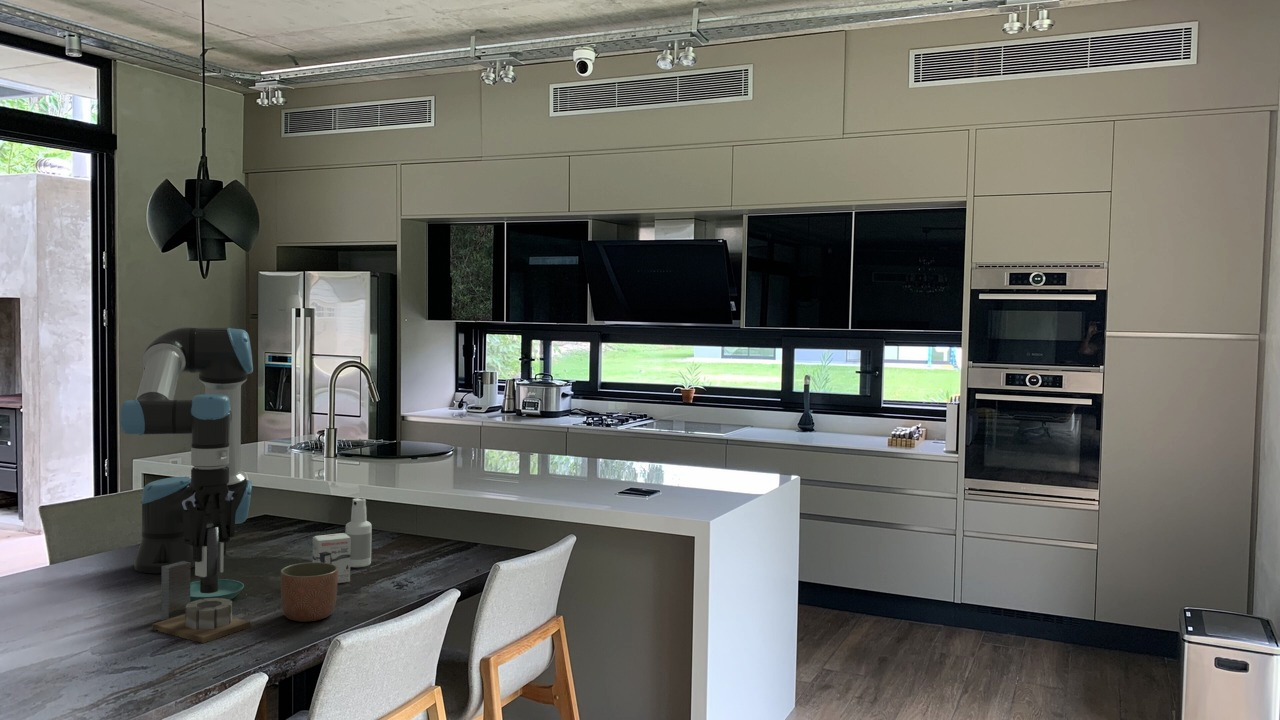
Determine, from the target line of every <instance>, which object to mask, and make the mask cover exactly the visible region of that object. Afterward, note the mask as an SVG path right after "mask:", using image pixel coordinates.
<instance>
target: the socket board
mask: <svg viewBox="0 0 1280 720" xmlns="http://www.w3.org/2000/svg"><path fill="white" fill-rule="evenodd" d="M151 626H152V627H151V629H152V631H156V630H158V631H157V632H160V633H163V632H164V634H167V633H169V634H168V635H171V634H172V635H171V636H174V635H175V636H176V637H178V636H179V637H178V638H181V639H182V638H183V639H186V640H189V639H191V640H190V641H194V642H197V641H198V642H197V643H201V642H202V644H205V642H206V643H208V642H210V641H214V640H217V639H221V638H222V636H223V637H225V635H226V636H229V635H231V634H235V633H238V632H240V630H241V631H243V630H247V629H249V628H251V621H248V620H245V619H241V618H237V617H233V600H232V599H231V600H228V599H224V598H220V599H219V598H207V599H204V600H202V599H200V600H196V601H193V602H190V603H189V604H187V605H186V608H185V614H184V615H181V616H177V617H174V618H171V619H168V620H161V621H158V622H155V623H152V624H151ZM242 629H243V630H242ZM237 631H238V632H237ZM234 632H235V633H234ZM228 634H229V635H228ZM216 638H217V639H216ZM213 639H214V640H213ZM207 641H208V642H207Z"/></svg>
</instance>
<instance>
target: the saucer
mask: <svg viewBox="0 0 1280 720" xmlns="http://www.w3.org/2000/svg"><path fill="white" fill-rule="evenodd" d="M244 587H245V585H244V583H242V582H241V581H239V580H234V579H226V578H225V579H224V578H223V579H222V578H218V591H217V592H214V593H201V592H200V580H197V581H192V582H191V581H190V602H193V601H196V600H200V599H202V600H204V599H207V598H219V599H220V598H224V599H228V600H231V601H232V600H233V599H234V598H236V597H237V596H238V595H239V594H240V593H241V592H242V591H243V588H244Z"/></svg>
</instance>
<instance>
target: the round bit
mask: <svg viewBox="0 0 1280 720" xmlns="http://www.w3.org/2000/svg"><path fill="white" fill-rule="evenodd" d="M203 546H207V576H206V577H200V576H199V578H200V580H199V581H200V592H201V593H214V592H217V591H218V579H220V578H219V574H220V573H219V526H217V525H207V527H206V533H205V539H204V545H203Z"/></svg>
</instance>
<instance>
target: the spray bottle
mask: <svg viewBox="0 0 1280 720" xmlns="http://www.w3.org/2000/svg"><path fill="white" fill-rule="evenodd" d="M366 503H367V500H366V498H363V499H361V498H360V497H359V498H358V497H357V498H352V506H351V516H350V521H349V522H347V523H346V524H345V534H347V535H348V536H349V537H350V538H351V552H350V568H364V567H368V566H370V565H371V563H372V531H373V530H372V529H373V528H372V527H373V526H372V525H373V524H372V522H370V521H368V520H367V504H366Z"/></svg>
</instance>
